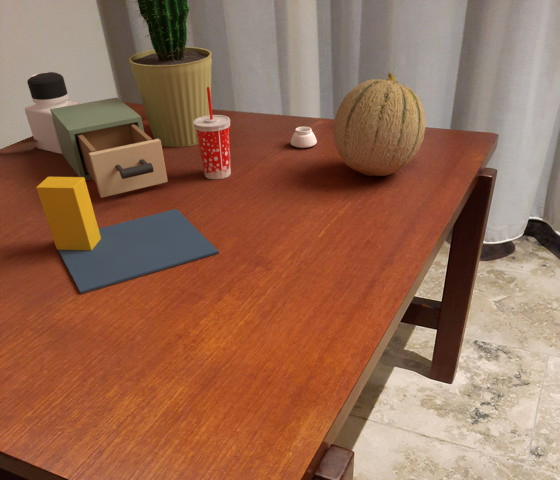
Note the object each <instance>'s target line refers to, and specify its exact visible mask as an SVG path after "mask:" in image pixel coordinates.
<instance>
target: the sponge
mask: <svg viewBox="0 0 560 480" xmlns="http://www.w3.org/2000/svg"><path fill="white" fill-rule="evenodd" d="M86 181H87V180H86ZM86 181H85V178H84V177H79V176H47V177H46V178H45V179H43V181H42V182H40V183H39V184H38V185H37V186H36V191H37V194H38V197H39V201H40V203H41V206H42V209H43V212H44V216H45V219H46V221H47V223H48V227H49V230H50V233H51V236H52V239H53V240H54V241H53V243H54V242H55V244H54V246H55V245H56V246H55V248H56V250H58V249H59V250H89V251H92V250H93V248H94V247H95V246H96V244H97V243H98V242H99V241H100V239H101V236H100V233H99V226H98V222H97V218H96V214H95V211H94V208H93V207H94V206H93V203H92V201H91V200H92V199H91V197H90V193H89V189H88V186H87V182H86Z"/></svg>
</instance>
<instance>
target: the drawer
mask: <svg viewBox="0 0 560 480" xmlns="http://www.w3.org/2000/svg"><path fill="white" fill-rule="evenodd" d="M75 136H76V139H77V143H78V147H79V150H80V154H81V158H82V161H83V164H84V169H85V170H86V171H87V172H88V174H89V175H90V176H91V177H92V179H91V180H93V182H94V183H95V184H96V187H97V192H98V195H99V196H100V198H107V197H110V196H115V195H118V194H119V195H120V194H123V193H127V192H131V191H136V190H140V189H144V188H148V187H153V186H156V185H157V186H158V185H161V184H165V183H168V182H169V180H168V174H167V169H166V163H165V158H164V151H163V146H162V145H161V141H160V140H159V139H154V138H153V139H152V138H151V137H150V136H149V135H148V134H147V133H146V132H145V131H144V132H143V131H142V130H141V129H140V128H138V127H137V126H136V125H135V124H134V123H130V124H125V125H120V126H115V127H110V128H105V129H99V130H94V131H89V132H84V133H79V134H75Z"/></svg>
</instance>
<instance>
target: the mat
mask: <svg viewBox="0 0 560 480" xmlns="http://www.w3.org/2000/svg"><path fill="white" fill-rule="evenodd" d="M98 229H99V233H100V236H101V239H100V241H99V242H98V243H97V244H96V246H95V247H94V248H93V250H92V251H89V250H59V249H57V251H58V253H59V255H60V257H61V259H62V261H63V263H64V265H65V267H66V268H67V270H68V272H69V274H70V276H71V279H72V280H73V282H74V284H75V286H76V288H77V290H78V291H79V293H80V294H81V295H82V294H86V293H90V292H93V291H96V290H101V289H103V288H107V287H110V286H113V285H116V284H121V283H124V282H126V281H131V280H133V279H138V278H141V277H143V276H146V275H150V274H154V273H158V272H161V271H164V270H167V269H171V268H175V267H177V266H181V265H184V264H187V263H192V262H195V261H198V260H201V259H204V258H209V257H211V256H215V255H218V254H220V251H219V250H218V249H217V247H215V246H214V245H213V244H212V243H211V242H210V240H208V239H207V237H206V236H204V235H203V233H202V232H200V230H198V228H197V227H196V226H195V225H194V224H193V223H192V222H191V221H189V219H187V218H186V217H185V215H183V213H182V212H181V211H180V210H179V209H177V208H174V209H170V210H166V211H162V212H158V213H154V214H150V215H147V216H142V217H139V218H135V219H130V220H127V221H122V222H119V223H115V224H111V225H108V226H103V227H100V228H99V227H98ZM53 243H54V246H55V247H56V245H55V242H54V239H53Z"/></svg>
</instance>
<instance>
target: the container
mask: <svg viewBox="0 0 560 480" xmlns="http://www.w3.org/2000/svg"><path fill="white" fill-rule="evenodd" d="M26 83H27V86H28V90H29V93H30V96H31V99H32V102H33V104H31V105H29V106H25V107H24V113H25V115H26V119H27V122H28V126H29V128H30V132H31V135H32V138H33V140H35V141H34V144H35V147H36V148H37V149H39V150H43V151H45V152H46V151H47V152H51V153H55V154H60V155H63V152H62V149H61V145H60V142H59V138H58V135H57V132H56V128H55V125H54V121H53V118H52V114H51V111H50V109H54V108H60V107H65V106H71V105H77V104H82V103H81V102H80V101H75V100H69V97H70V96H69V93H68V90H67V86H66V82H65V78H64V76H63V75H62V74H61V73H58V72H55V71H45V72H38V73H35V74H32V75H30V76H29V77H28V78H27V80H26Z"/></svg>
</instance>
